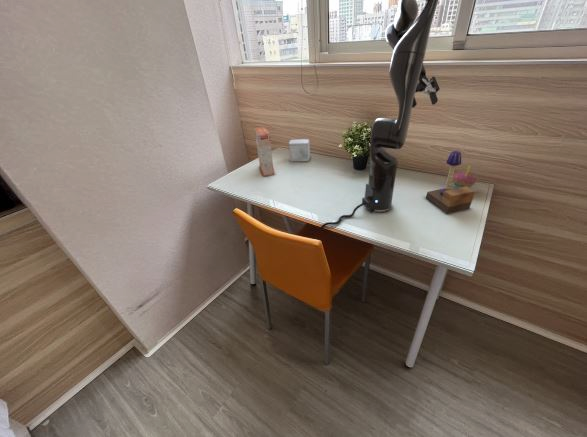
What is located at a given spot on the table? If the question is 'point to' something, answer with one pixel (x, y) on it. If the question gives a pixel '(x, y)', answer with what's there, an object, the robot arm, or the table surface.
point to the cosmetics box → (299, 150)
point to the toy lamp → (452, 168)
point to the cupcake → (463, 179)
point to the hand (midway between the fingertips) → (424, 104)
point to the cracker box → (264, 151)
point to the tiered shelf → (443, 207)
